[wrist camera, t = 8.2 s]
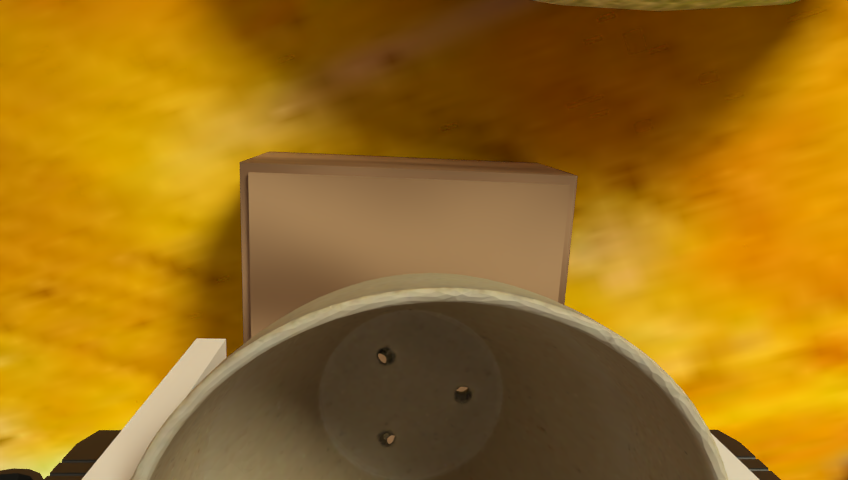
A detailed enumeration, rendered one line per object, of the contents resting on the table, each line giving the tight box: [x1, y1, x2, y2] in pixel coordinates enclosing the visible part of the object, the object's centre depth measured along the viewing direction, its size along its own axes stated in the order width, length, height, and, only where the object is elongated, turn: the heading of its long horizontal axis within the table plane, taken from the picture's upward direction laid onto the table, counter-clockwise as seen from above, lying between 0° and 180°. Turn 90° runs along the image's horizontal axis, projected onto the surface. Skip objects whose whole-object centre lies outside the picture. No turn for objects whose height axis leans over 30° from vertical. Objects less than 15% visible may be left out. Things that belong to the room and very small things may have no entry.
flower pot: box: [131, 273, 728, 480], centre depth 13 cm, size 10×10×7 cm
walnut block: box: [240, 152, 578, 444], centre depth 22 cm, size 11×11×5 cm
